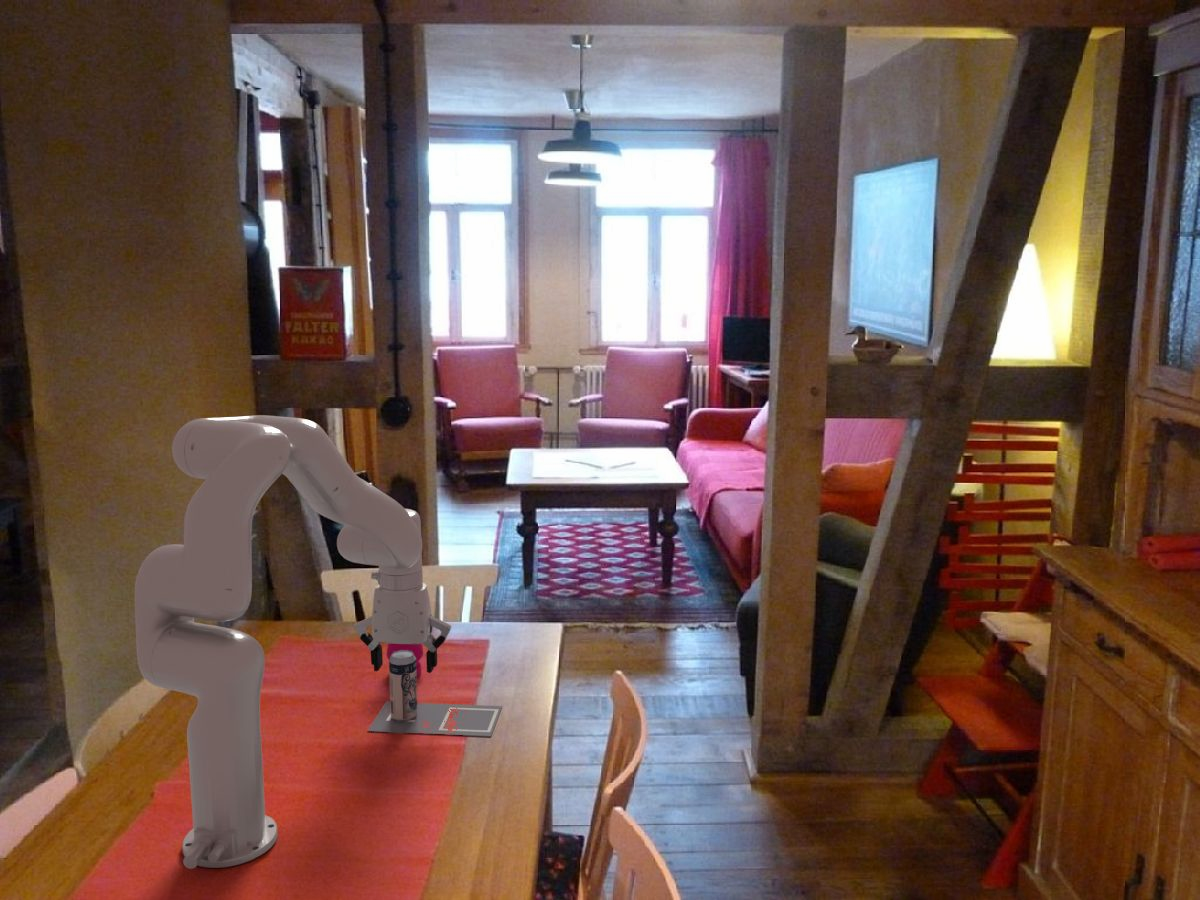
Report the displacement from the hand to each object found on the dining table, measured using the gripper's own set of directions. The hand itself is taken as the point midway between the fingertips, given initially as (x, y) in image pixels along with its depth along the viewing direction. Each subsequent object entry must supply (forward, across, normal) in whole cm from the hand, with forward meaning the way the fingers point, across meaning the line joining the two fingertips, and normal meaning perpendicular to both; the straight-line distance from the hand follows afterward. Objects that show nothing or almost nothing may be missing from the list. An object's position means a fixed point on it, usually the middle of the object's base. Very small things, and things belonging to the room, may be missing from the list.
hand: (404, 669), depth 177 cm
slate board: (+9, +6, -1) cm, 11 cm away
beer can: (+9, 0, -1) cm, 9 cm away
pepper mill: (+10, -5, +19) cm, 22 cm away
